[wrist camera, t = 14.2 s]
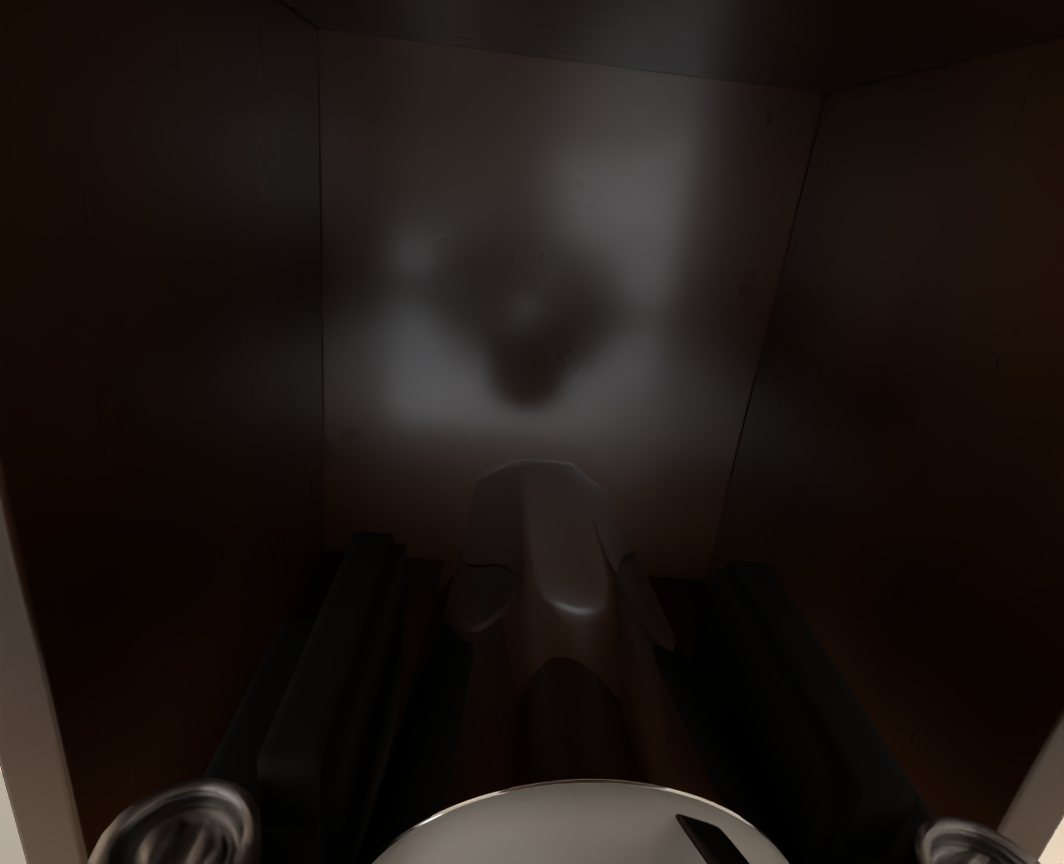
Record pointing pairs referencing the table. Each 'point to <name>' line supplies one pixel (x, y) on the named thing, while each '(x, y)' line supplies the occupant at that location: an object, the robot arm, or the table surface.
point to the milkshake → (556, 702)
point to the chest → (528, 347)
